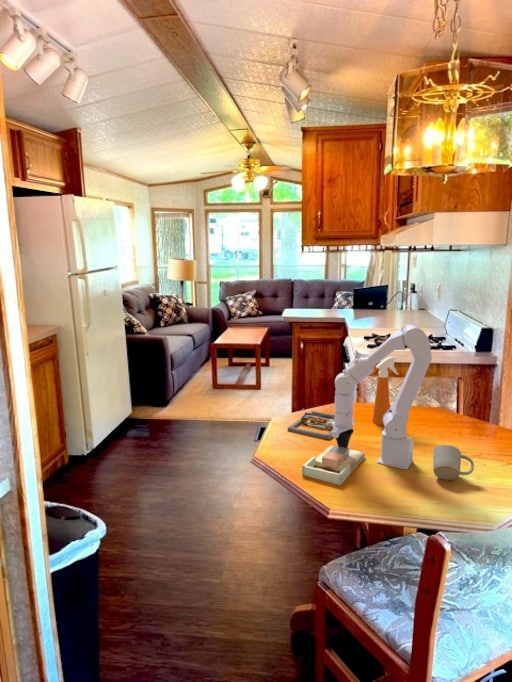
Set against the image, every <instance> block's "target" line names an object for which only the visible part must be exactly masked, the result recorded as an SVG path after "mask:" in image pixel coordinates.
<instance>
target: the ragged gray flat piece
mask: <svg viewBox="0 0 512 682" xmlns="http://www.w3.org/2000/svg"><path fill="white" fill-rule="evenodd" d="M317 409H319V407H317ZM322 409H323V408H322ZM324 409H325V408H324ZM324 409H323V411H324ZM326 409H327V410H326V411H329V409H333V408H332V406H327V408H326ZM301 411H304V408H302V410H301ZM330 412H331V413H332V412H333V410H331V411H330ZM305 415H306V416H307V417H308V418H306V417H305ZM304 417H305V418H304ZM309 417H310V418H309ZM300 419H301V421H302V420H303V421H304V420H306V421H304V424H307V425H306V426H309V427H314V428H321V429H323V428H324V427H325V428H324V429H323V430H328V429H332V426H333V425H331V422H332V421H334V417H328V416H323V415H316V414H311V413H309V412H306V411H304V415H303V416H301V417H300ZM307 421H311V422H310V423H308V422H307ZM312 422H315V423H312ZM317 423H320V424H317ZM321 423H322V424H321ZM313 424H314V425H313ZM327 428H328V429H327Z"/></svg>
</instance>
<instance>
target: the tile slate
mask: <svg viewBox="0 0 512 682" xmlns="http://www.w3.org/2000/svg"><path fill="white" fill-rule="evenodd" d="M332 446H333V447H332V448H331V449H330V450H329V451H330V452H335V453H340V454H344V456H343V462H344V461H345V460H346V459H347V458H348V457H349V449H350V448H344V447H339V446H338V445H332Z"/></svg>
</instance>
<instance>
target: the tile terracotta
mask: <svg viewBox="0 0 512 682" xmlns="http://www.w3.org/2000/svg"><path fill="white" fill-rule="evenodd" d="M343 456H344V454H340V453H335V452H330V451H328V452H327V453H326V454H325V455H324V456H323V457H322V465H325V466H329V467H333V468H338V467H339V466H340V465H341V464H342V463H343Z"/></svg>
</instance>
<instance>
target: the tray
mask: <svg viewBox="0 0 512 682" xmlns="http://www.w3.org/2000/svg"><path fill="white" fill-rule="evenodd" d="M316 458H317V456H315V455H313V456H312V457H311V458H309V460H308V461H306V462H305V463H304V464H303V465H302V468H301V469H302V470H301V472H302V473H301V475H302V476H305V477H309V478H313V479H316V480H320V481H323V482H327V483H329V484H330V483H331V484H335V485H339V486H341V485H342V484H343V483H344V482H345V481H346V480H347V479H348V477H349V476H350V475H351V474H350V464H347V465H346V466H345V468H344V469H343V470H342V471H341V472H340V471H339V472H333V471H330V470H329V471H328V470H325V469H321V468H318V467H317V468H316Z"/></svg>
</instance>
